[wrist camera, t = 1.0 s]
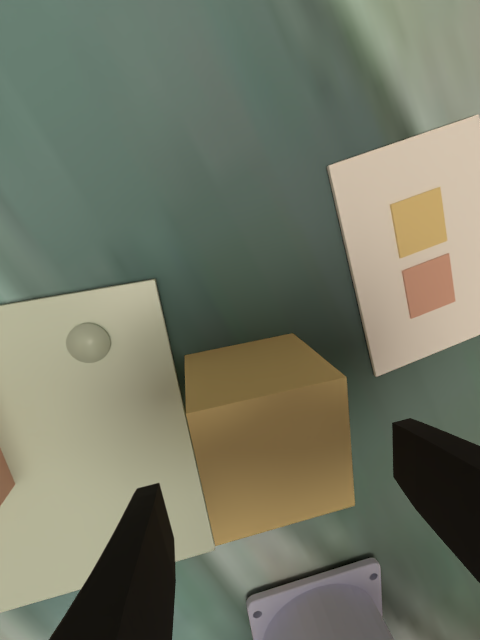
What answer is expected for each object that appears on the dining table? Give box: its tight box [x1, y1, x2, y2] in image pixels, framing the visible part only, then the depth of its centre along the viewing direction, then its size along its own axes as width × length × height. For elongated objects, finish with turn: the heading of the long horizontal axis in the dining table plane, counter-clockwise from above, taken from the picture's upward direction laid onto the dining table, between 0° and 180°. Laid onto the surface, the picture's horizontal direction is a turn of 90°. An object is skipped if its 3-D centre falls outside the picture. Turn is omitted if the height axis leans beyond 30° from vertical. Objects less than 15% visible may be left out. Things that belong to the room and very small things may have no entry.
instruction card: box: [327, 114, 480, 377], centre depth 14 cm, size 10×7×1 cm
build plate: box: [0, 279, 215, 613], centre depth 13 cm, size 14×16×1 cm
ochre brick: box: [185, 333, 355, 546], centre depth 12 cm, size 5×5×5 cm
